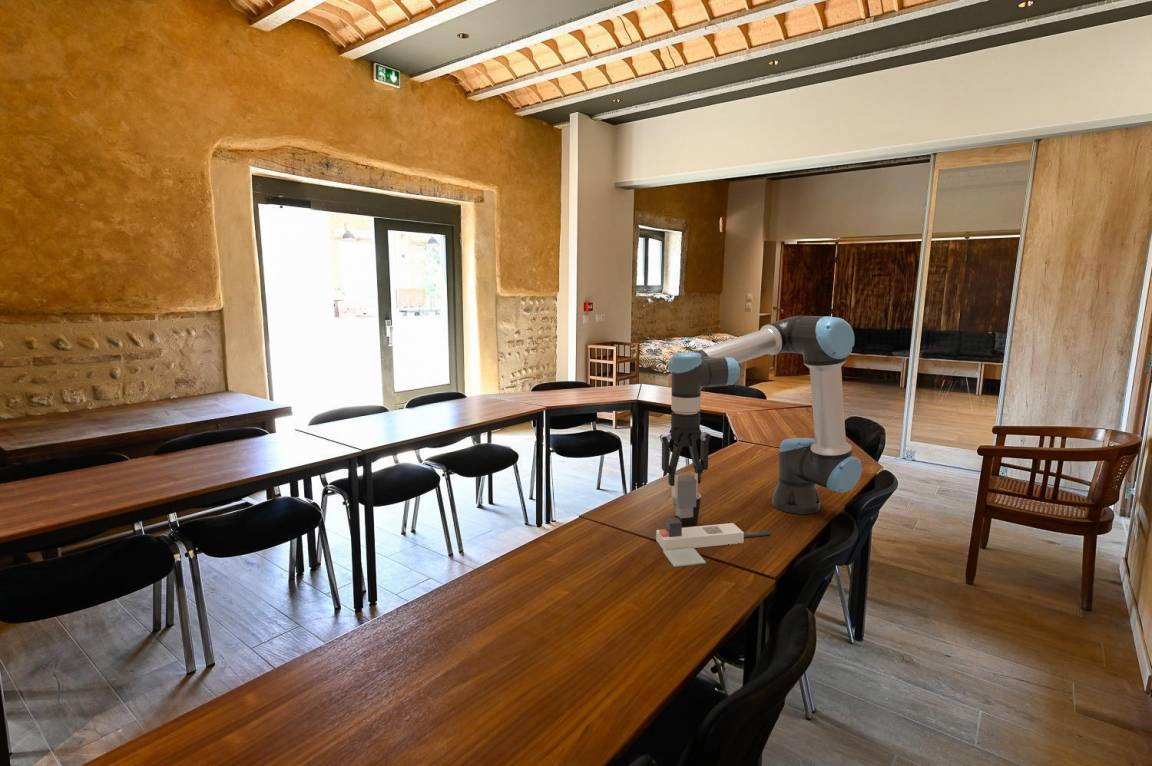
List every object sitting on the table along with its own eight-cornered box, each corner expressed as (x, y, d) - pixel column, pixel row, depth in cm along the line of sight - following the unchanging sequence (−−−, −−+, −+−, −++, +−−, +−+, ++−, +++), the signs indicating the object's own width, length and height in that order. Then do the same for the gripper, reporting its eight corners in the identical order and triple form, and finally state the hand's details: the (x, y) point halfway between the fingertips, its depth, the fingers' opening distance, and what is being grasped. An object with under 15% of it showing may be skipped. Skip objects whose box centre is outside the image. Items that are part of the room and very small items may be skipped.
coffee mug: (700, 532, 171) (701, 500, 170) (672, 530, 173) (672, 499, 171) (700, 517, 182) (700, 487, 181) (673, 515, 184) (673, 486, 183)
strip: (763, 530, 172) (764, 507, 171) (775, 539, 165) (776, 516, 164) (656, 540, 166) (656, 517, 165) (664, 551, 159) (664, 526, 158)
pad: (693, 548, 160) (693, 547, 160) (705, 563, 152) (705, 562, 152) (662, 552, 159) (662, 550, 159) (673, 567, 150) (673, 565, 150)
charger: (689, 511, 156) (689, 474, 154) (696, 517, 151) (696, 479, 150) (672, 512, 155) (672, 475, 153) (679, 519, 150) (679, 481, 149)
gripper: (711, 406, 154) (709, 488, 157) (648, 410, 151) (648, 493, 154) (723, 412, 146) (721, 498, 150) (657, 416, 143) (656, 503, 147)
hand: (684, 495), depth 152 cm, fingers closed on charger, 5 cm apart
